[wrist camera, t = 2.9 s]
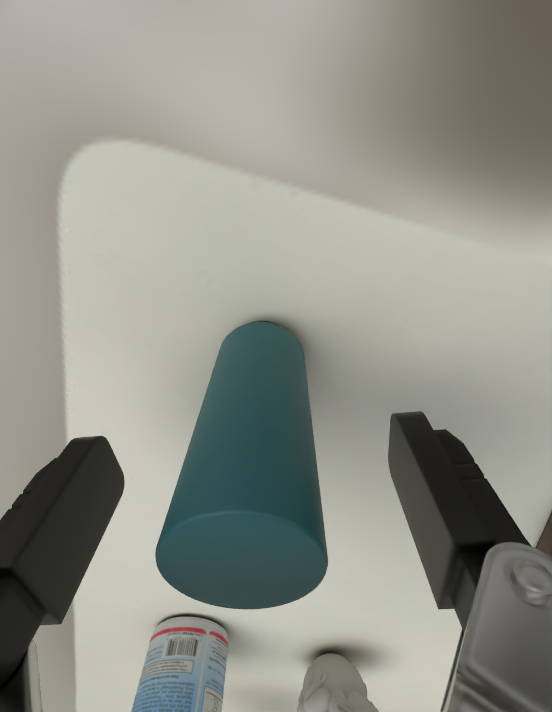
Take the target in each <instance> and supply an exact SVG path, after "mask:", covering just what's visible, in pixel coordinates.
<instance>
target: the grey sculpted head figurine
mask: <svg viewBox="0 0 552 712" xmlns="http://www.w3.org/2000/svg"><path fill="white" fill-rule="evenodd" d="M297 712H379V711H378V710H377V708H375V706H374V704H373V703H372V702H370V701H369V700H368V699H367V688H366V685H365V683H364V682H363V680H362V678H361V676H360V674H359V672H358V670H357V669H356V667H355V666H354V665H353V664H352V663H351V662H350V661H349V660H348V659H346V658H345V657H343V656H341V655H338V654H335V653H328V654H324V655H321V656H319V657H318V658H316V659H315V660H314V661H313V662H312V663H311V665H310V666H309V668H308V670H307V672H306V675H305V678H304V683H303V689H302V691H301V694H300V697H299V704H298V708H297Z"/></svg>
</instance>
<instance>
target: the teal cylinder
mask: <svg viewBox="0 0 552 712" xmlns="http://www.w3.org/2000/svg"><path fill="white" fill-rule="evenodd" d="M155 556H156V563H157V567H158V569H159V571H160V573H161V575H162V576H163V578H164V579H165V580H166V581H167V582H168V583H169V584H170V585H171V586H172V587H174V588H175V589H177V590H178V591H179V592H181V593H183V594H185V595H187V596H188V597H191V598H193V599H195V600H198V601H201V602H204V603H207V604H211V605H214V606H220V607H225V608H233V609H262V608H270V607H275V606H280V605H284V604H287V603H290V602H293V601H295V600H298V599H300V598H302V597H304V596H305V595H307V594H308V593H310V592H311V591H313V590H314V589H315V588H316V587H317V586H318V585H319V584H320V582H321V581H322V580H323V578H324V576H325V573H326V570H327V566H328V556H327V548H326V539H325V531H324V522H323V513H322V505H321V496H320V488H319V479H318V470H317V462H316V453H315V445H314V436H313V428H312V419H311V410H310V402H309V393H308V385H307V376H306V367H305V359H304V353H303V349H302V347H301V345H300V343H299V341H298V340H297V339H296V338H295V336H294V335H293V334H291V333H290V332H289V331H288V330H286V329H284V328H282V327H281V326H279V325H277V324H275V323H272V322H268V321H256V322H252V323H249V324H246V325H243V326H241V327H238V328H237V329H235V330H233V331H232V332H231V333H230V334H229V335H228V336H227V337H226V338H225V340H224V341H223V343H222V345H221V347H220V350H219V354H218V357H217V360H216V363H215V366H214V369H213V372H212V375H211V379H210V382H209V385H208V388H207V391H206V394H205V397H204V400H203V404H202V407H201V410H200V413H199V416H198V419H197V422H196V425H195V429H194V432H193V435H192V438H191V441H190V444H189V447H188V450H187V454H186V457H185V460H184V463H183V466H182V469H181V472H180V475H179V479H178V482H177V485H176V488H175V491H174V494H173V497H172V500H171V504H170V507H169V510H168V513H167V516H166V519H165V522H164V525H163V529H162V532H161V535H160V538H159V541H158V544H157V547H156V555H155Z"/></svg>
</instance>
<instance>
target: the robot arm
mask: <svg viewBox="0 0 552 712" xmlns="http://www.w3.org/2000/svg"><path fill="white" fill-rule="evenodd" d="M388 460H389V468H390V473H391V477H392V480H393V483H394V485H395V488H396V491H397V494H398V497H399V499H400V502H401V505H402V508H403V511H404V514H405V516H406V519H407V522H408V525H409V528H410V530H411V533H412V536H413V539H414V542H415V545H416V547H417V550H418V553H419V556H420V559H421V561H422V564H423V567H424V570H425V573H426V576H427V578H428V581H429V584H430V587H431V590H432V593H433V595H434V598H435V601H436V604H437V607H438V609H455V611H456V614H457V616H458V619H459V621H460V624H461V626H462V630H461V634H460V638H459V641H458V645H457V649H456V653H455V657H454V660H453V664H452V668H451V672H450V675H449V679H448V683H447V687H446V691H445V694H444V698H443V702H442V706H441V710H440V712H552V557H550V556H549V555H547V554H546V553H544V552H542V551H540V550H538V549H536V548H534V547H532V546H531V545H530V544H529V542H528V541H527V540H526V538H525V537H524V536H523V534H522V533H521V531H520V529H519V528H518V526H517V525H516V523H515V522H514V520H513V519H512V517H511V516H510V514H509V513H508V511H507V510H506V508H505V506H504V505H503V503H502V502H501V500H500V499H499V497H498V496H497V494H496V493H495V491H494V490H493V488H492V486H491V485H490V483H489V482H488V480H487V479H486V478H484V474H483V473H482V471H481V470H480V468H479V467H478V465H477V464H475V462H474V459H473V457H472V456H471V454H470V453H469V451H468V450H467V448H466V447H465V445H464V444H463V443H462V442H461V441H460V440H459V439H457V438H456V437H455V436H453V435H452V434H451V433H450V432H448V431H447V430H446V429H444V430H433V428H432V427H431V425H430V423H429V421H428V420H427V418H426V416H425V415H424V413H423V412H421V411H419V412H406V413H394V414H392V416H391V421H390V436H389V451H388ZM123 490H124V475H123V472H122V470H121V467H120V465H119V463H118V461H117V459H116V457H115V455H114V452H113V450H112V448H111V446H110V444H109V442H108V440H107V439H106V438H105V437H104V436H94V437H81V438H74V439H73V440H71V441H70V442H69V444H68V445H67V446H66V448H65V449H64V450H63V452H62V453H61V454H60V456H59V457H58V458H55V459H54V460H53V461H51V462H50V463H49V464H48V465H46V466H45V467H44V468H43V469H42V470H40V471H39V472H38V473H37V474H36V475H35V476H34V477H33V479H32V480H31V481H30V482H29V484H28V485H27V486H26V488H25V489H24V490H23V494H20V495H19V497H18V498H17V499H16V501H15V502H14V503H13V504H12V508H11V509H9V510H8V511H7V512H6V514H5V515H4V516H3V517H2V518H1V520H0V712H43V711H42V700H41V689H40V678H39V666H38V656H37V647H36V643H35V641H34V640H33V637H34V635H35V633H36V631H37V629H38V627H39V626H40V625H52V624H61V623H62V621H63V619H64V617H65V615H66V613H67V611H68V609H69V606H70V604H71V602H72V600H73V598H74V596H75V594H76V592H77V589H78V587H79V585H80V583H81V581H82V579H83V577H84V575H85V573H86V570H87V568H88V566H89V564H90V562H91V560H92V558H93V556H94V553H95V551H96V549H97V547H98V545H99V543H100V541H101V539H102V536H103V534H104V532H105V530H106V528H107V526H108V524H109V522H110V520H111V517H112V515H113V513H114V511H115V509H116V507H117V505H118V503H119V500H120V498H121V496H122V494H123Z"/></svg>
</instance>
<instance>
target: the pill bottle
mask: <svg viewBox="0 0 552 712" xmlns="http://www.w3.org/2000/svg"><path fill="white" fill-rule="evenodd" d="M227 651H228V635H227V633H226V631H225V629H224V628H223V627H221V626H220V625H219V624H217V623H215V622H213V621H210V620H207V619H203V618H198V617H175V618H170V619H168V620H165V621H164V622H162V623H161V624H159V625H158V626H157V627H156V629H155V630H154V632H153V634H152V637H151V640H150V644H149V647H148V651H147V655H146V659H145V662H144V666H143V670H142V674H141V677H140V681H139V685H138V689H137V693H136V696H135V700H134V704H133V708H132V711H131V712H222V702H223V691H224V681H225V671H226V662H227Z"/></svg>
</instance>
